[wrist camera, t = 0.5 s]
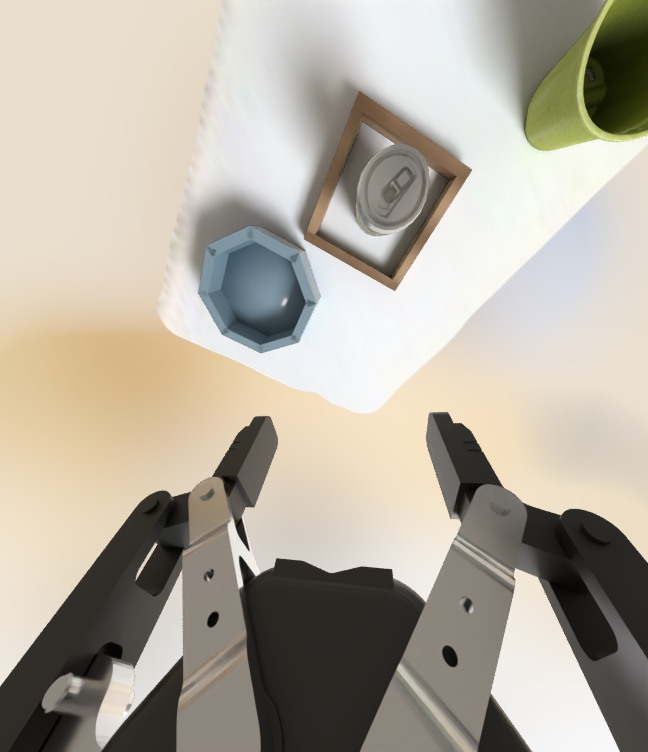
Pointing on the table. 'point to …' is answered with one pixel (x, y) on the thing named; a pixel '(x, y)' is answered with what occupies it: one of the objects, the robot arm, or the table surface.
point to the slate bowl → (258, 288)
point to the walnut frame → (397, 134)
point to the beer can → (391, 190)
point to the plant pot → (596, 83)
